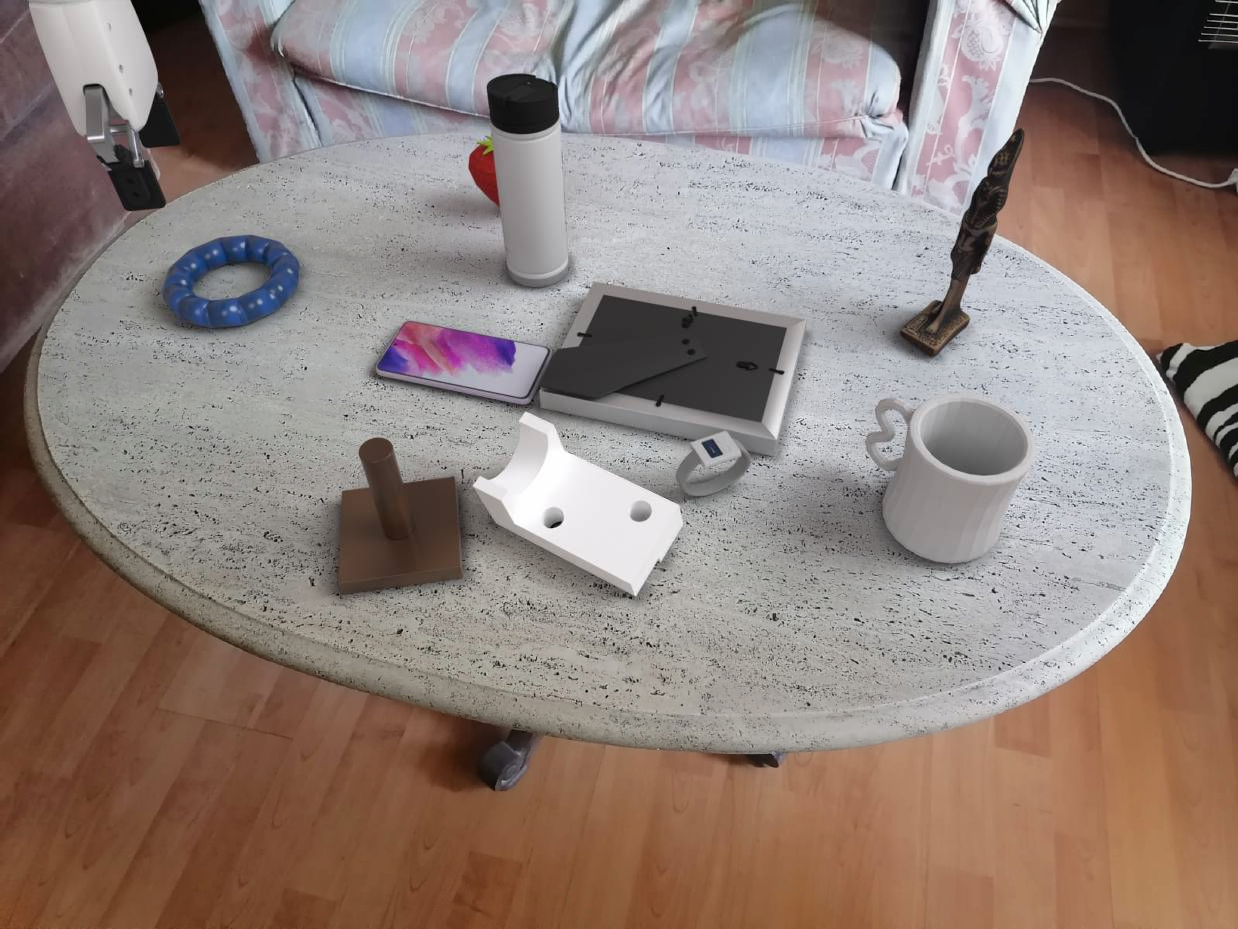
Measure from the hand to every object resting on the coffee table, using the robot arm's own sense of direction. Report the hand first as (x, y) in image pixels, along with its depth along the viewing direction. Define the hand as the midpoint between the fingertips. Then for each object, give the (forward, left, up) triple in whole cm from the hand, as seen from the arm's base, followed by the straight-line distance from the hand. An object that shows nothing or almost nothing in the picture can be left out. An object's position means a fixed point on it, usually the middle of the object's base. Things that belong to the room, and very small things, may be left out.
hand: (155, 175), depth 80 cm
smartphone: (+24, -11, -16) cm, 30 cm away
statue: (+68, -14, -16) cm, 71 cm away
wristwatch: (+43, -29, -16) cm, 54 cm away
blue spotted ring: (+2, +4, -14) cm, 15 cm away
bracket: (+32, -32, -16) cm, 47 cm away
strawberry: (+30, +13, -16) cm, 36 cm away
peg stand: (+18, -30, -16) cm, 38 cm away
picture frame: (+43, -15, -16) cm, 48 cm away
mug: (+59, -34, -16) cm, 69 cm away
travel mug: (+32, +2, -16) cm, 35 cm away
